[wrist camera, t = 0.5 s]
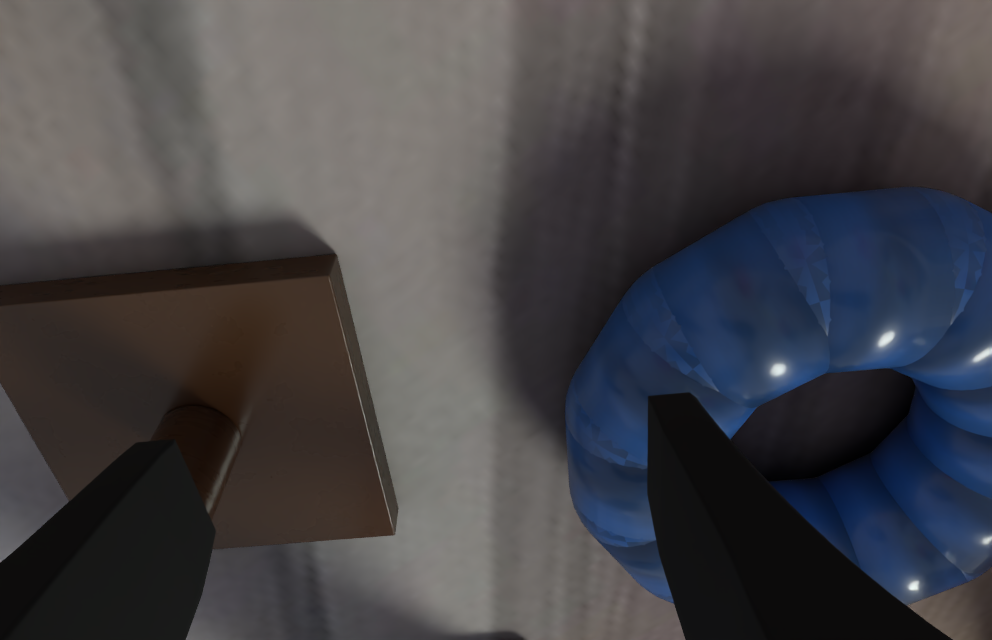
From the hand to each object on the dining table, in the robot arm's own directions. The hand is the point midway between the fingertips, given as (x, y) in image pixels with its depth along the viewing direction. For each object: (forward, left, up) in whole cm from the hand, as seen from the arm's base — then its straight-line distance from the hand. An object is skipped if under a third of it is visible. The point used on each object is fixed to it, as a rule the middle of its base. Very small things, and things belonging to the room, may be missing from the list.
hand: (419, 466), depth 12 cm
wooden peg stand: (-6, +8, -10) cm, 14 cm away
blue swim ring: (-7, -10, -8) cm, 14 cm away
